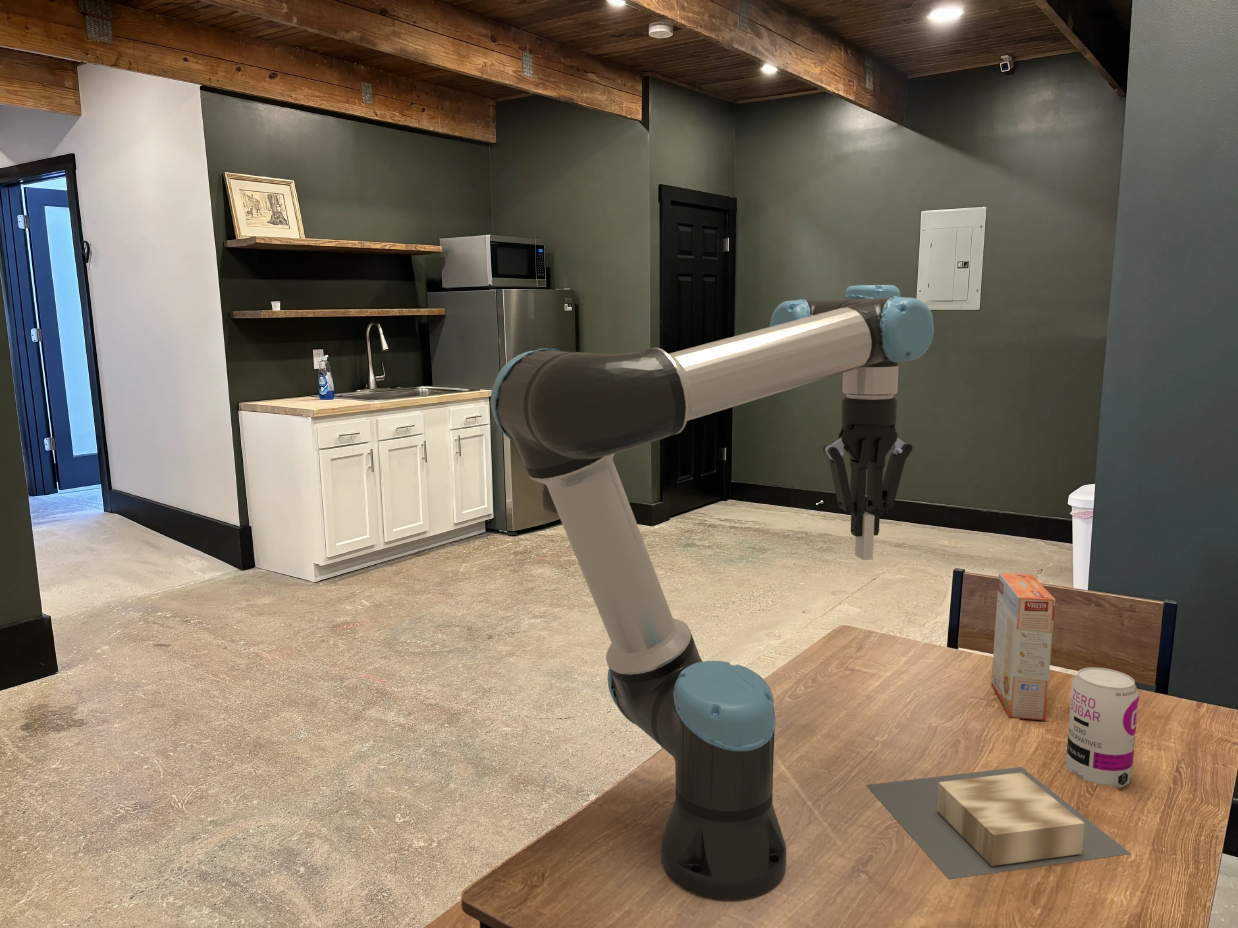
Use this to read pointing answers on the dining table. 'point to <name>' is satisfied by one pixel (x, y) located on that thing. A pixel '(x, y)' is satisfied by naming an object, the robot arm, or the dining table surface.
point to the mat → (946, 845)
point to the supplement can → (1102, 726)
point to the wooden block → (1010, 819)
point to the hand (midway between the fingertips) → (863, 557)
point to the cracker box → (1022, 645)
